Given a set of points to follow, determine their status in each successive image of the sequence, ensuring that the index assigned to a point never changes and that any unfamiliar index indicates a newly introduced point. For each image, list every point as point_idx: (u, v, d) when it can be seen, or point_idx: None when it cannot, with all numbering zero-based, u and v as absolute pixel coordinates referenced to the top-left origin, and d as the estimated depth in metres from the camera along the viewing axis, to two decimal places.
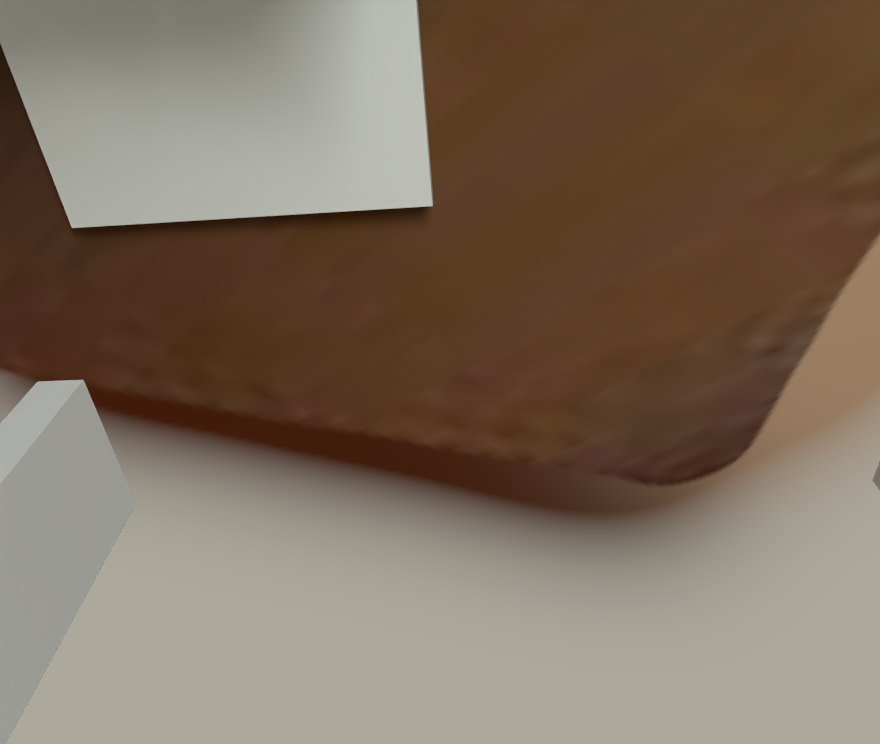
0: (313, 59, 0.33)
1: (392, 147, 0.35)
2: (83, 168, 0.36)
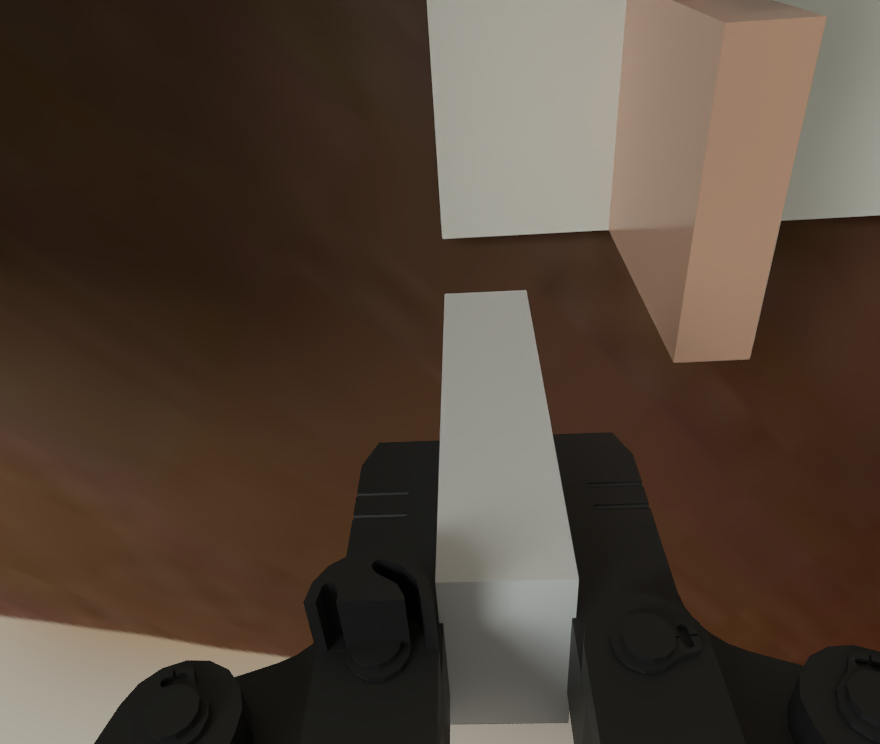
0: None
1: None
2: None
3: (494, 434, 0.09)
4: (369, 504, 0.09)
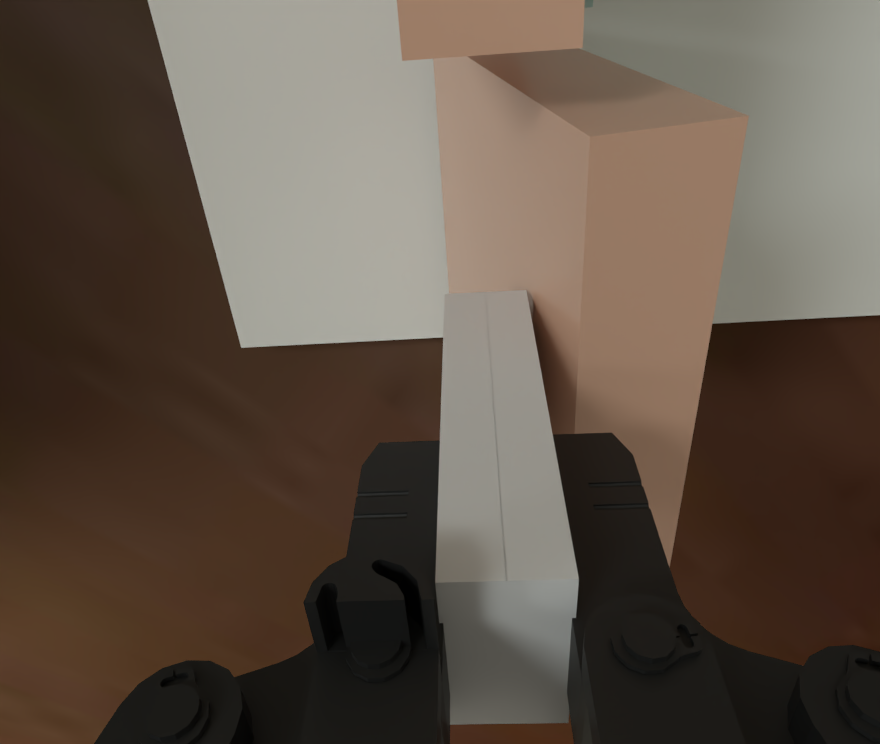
0: None
1: None
2: None
3: (494, 434, 0.09)
4: (369, 504, 0.09)
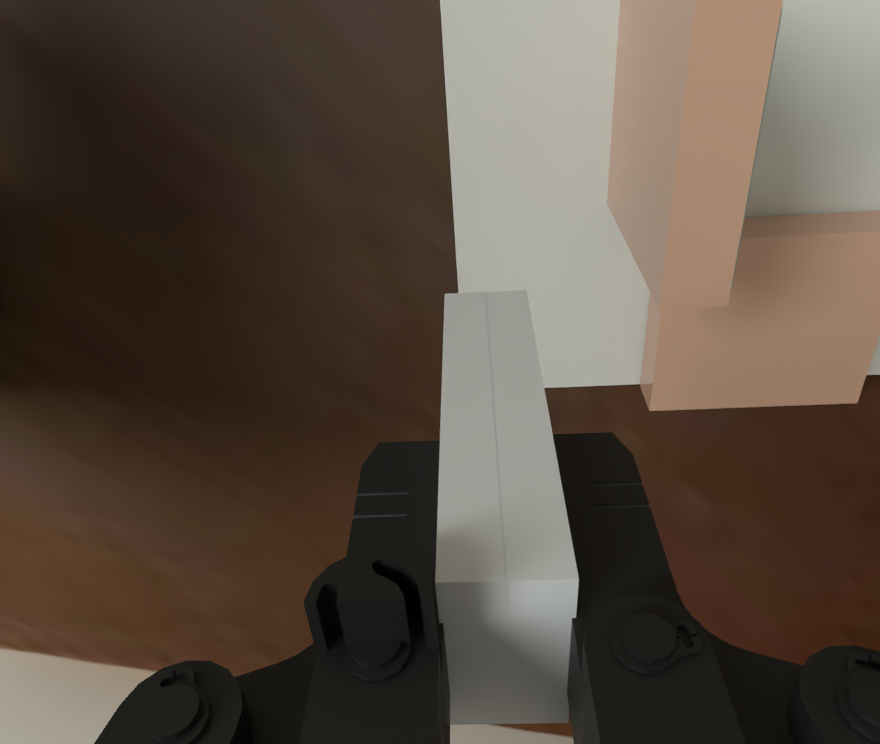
0: (854, 72, 0.28)
1: None
2: (877, 344, 0.35)
3: (494, 434, 0.09)
4: (369, 504, 0.09)
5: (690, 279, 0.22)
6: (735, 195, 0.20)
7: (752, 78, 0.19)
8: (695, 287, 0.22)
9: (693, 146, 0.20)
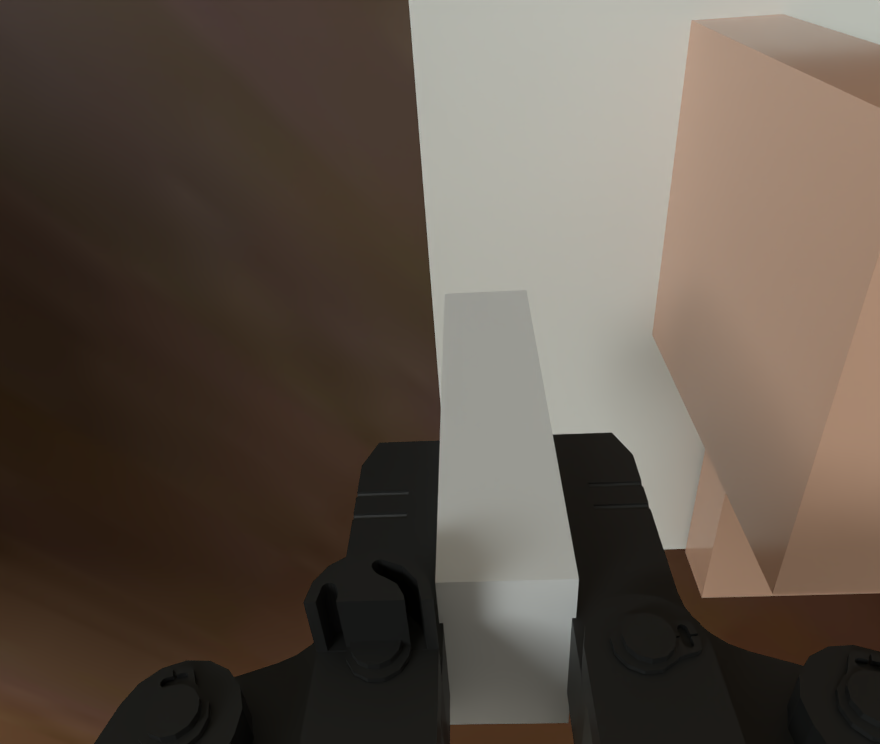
0: None
1: None
2: None
3: (494, 434, 0.09)
4: (369, 504, 0.09)
5: (831, 555, 0.13)
6: None
7: None
8: (837, 565, 0.13)
9: (869, 371, 0.11)
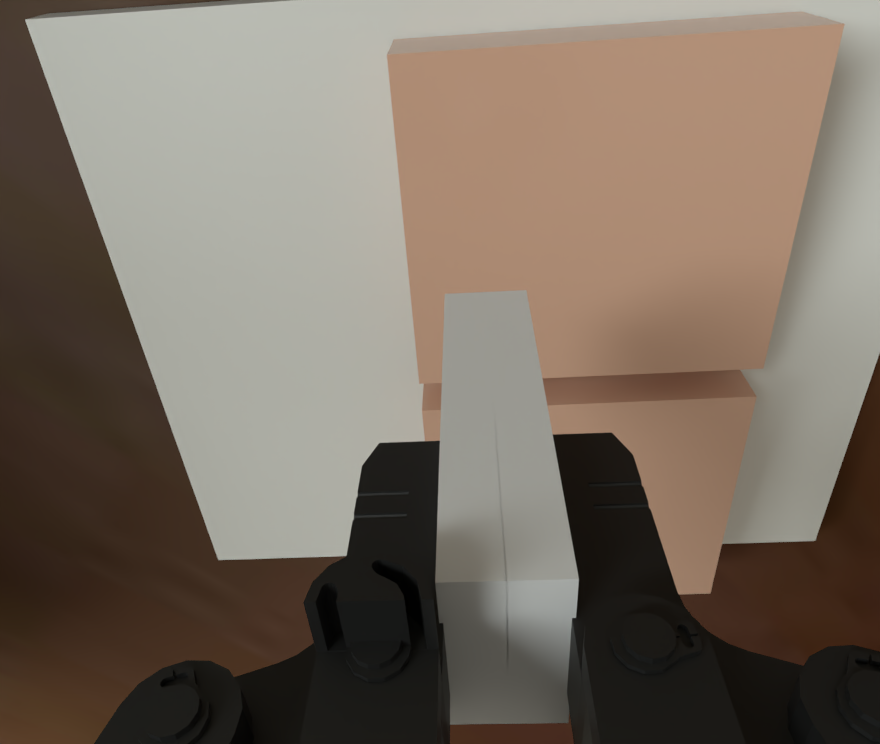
0: None
1: (856, 42, 0.17)
2: (740, 509, 0.26)
3: (494, 434, 0.09)
4: (369, 504, 0.09)
5: None
6: None
7: None
8: None
9: None
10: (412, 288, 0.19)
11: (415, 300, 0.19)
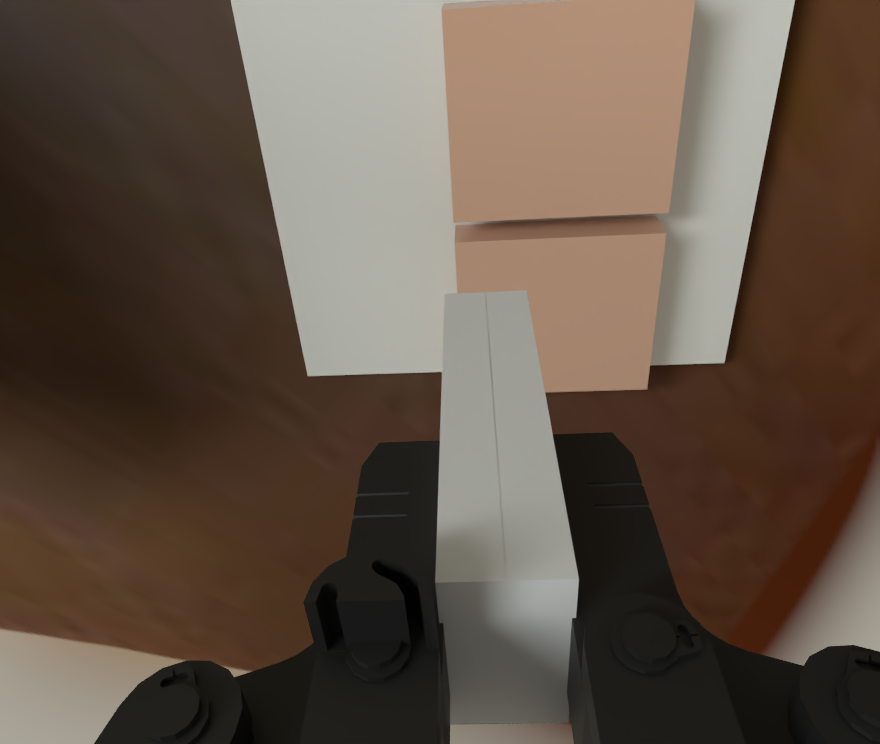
0: None
1: (716, 6, 0.29)
2: (670, 336, 0.38)
3: (494, 434, 0.09)
4: (369, 504, 0.09)
5: None
6: None
7: None
8: None
9: None
10: (451, 155, 0.31)
11: (452, 164, 0.31)
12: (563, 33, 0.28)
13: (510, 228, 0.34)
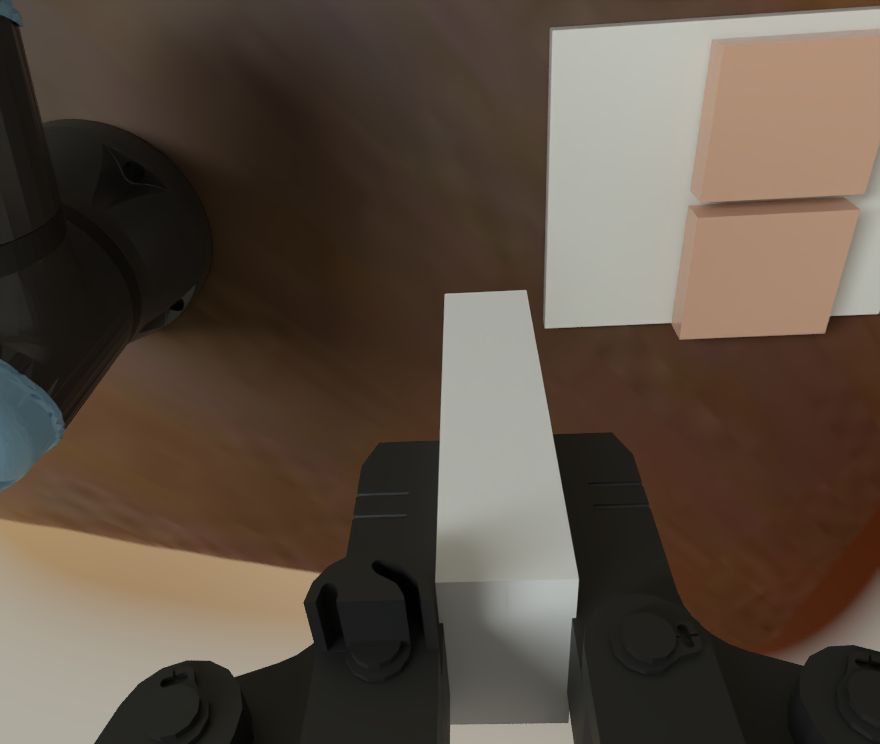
0: None
1: None
2: (839, 292, 0.49)
3: (494, 434, 0.09)
4: (369, 504, 0.09)
5: None
6: None
7: None
8: None
9: None
10: (709, 151, 0.41)
11: (709, 158, 0.42)
12: (809, 62, 0.39)
13: (734, 207, 0.45)
